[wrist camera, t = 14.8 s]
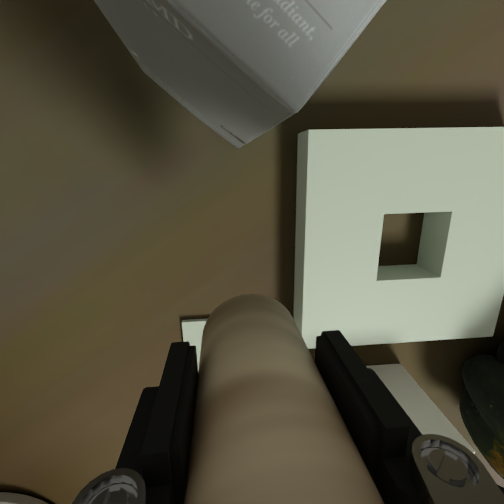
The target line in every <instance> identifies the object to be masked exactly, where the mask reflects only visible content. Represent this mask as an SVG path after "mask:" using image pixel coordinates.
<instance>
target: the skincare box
mask: <svg viewBox="0 0 504 504" xmlns="http://www.w3.org/2000/svg"><path fill="white" fill-rule="evenodd" d="M94 2H95V3H96V4H97V6H98V7H99V9H100V10H101V12H102V13H103V15H104V16H105V17H106V19H107V20H108V22H109V23H110V25H111V26H112V28H113V29H114V31H115V32H116V33H117V35H118V36H119V38H120V39H121V41H122V42H123V43H124V45H125V46H126V48H127V49H128V51H129V52H130V54H131V55H132V57H133V58H134V59H135V61H136V62H137V64H138V65H139V67H140V68H141V70H142V71H143V72H144V73H145V74H146V75H147V76H149V77H150V78H151V79H152V80H153V81H154V82H155V83H157V84H158V85H159V86H160V87H161V88H162V89H164V90H165V91H166V92H167V93H168V94H169V95H171V96H172V97H173V98H174V99H175V100H177V101H178V102H179V103H180V104H181V105H183V106H184V107H185V108H186V109H187V110H189V111H190V112H191V113H192V114H193V115H195V116H196V117H197V118H198V119H200V120H201V121H202V122H203V123H205V124H206V125H207V126H209V127H210V128H211V129H212V130H214V131H215V132H216V133H218V134H219V135H220V136H222V137H223V138H224V139H226V140H227V141H229V142H230V143H231V144H233V145H234V146H235V147H237V148H240V147H242V146H243V145H245V144H247V143H248V142H250V141H252V140H253V139H255V138H257V137H258V136H260V135H262V134H263V133H265V132H267V131H268V130H270V129H272V128H273V127H275V126H277V125H278V124H280V123H281V122H283V121H284V120H286V119H288V118H289V117H291V116H292V115H293V114H295V113H298V111H299V110H300V109H301V108H302V107H303V106H304V105H305V104H306V103H307V101H308V100H309V99H310V98H311V96H312V95H313V94H314V93H315V91H316V90H317V89H318V88H319V86H320V85H321V84H322V82H323V81H324V80H325V79H326V77H327V76H328V75H329V74H330V72H331V71H332V70H333V69H334V67H335V66H336V65H337V63H338V62H339V61H340V60H341V58H342V57H343V56H344V55H345V53H346V52H347V51H348V49H349V48H350V47H351V46H352V44H353V43H354V42H355V40H356V39H357V38H358V37H359V35H360V34H361V33H362V31H363V30H364V29H365V27H366V26H367V25H368V24H369V22H370V21H371V20H372V18H373V17H374V16H375V15H376V13H377V12H378V11H379V9H380V8H381V7H382V6H383V4H384V3H385V2H386V0H94Z"/></svg>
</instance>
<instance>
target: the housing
mask: <svg viewBox="0 0 504 504" xmlns="http://www.w3.org/2000/svg"><path fill="white" fill-rule="evenodd" d="M366 367H367V368H371V369H373V370H374V371H375V372H376V374H377V375H378V376H379V378H380V379H381V380H382V382H383V383H384V384H385V386H386V387H387V388H388V390H389V391H390V392H391V394H392V395H393V396H394V398H395V399H396V400H397V402H398V403H399V404H400V405H401V407H402V408H403V409H404V411H405V412H406V413H407V415H408V416H409V417H410V419H411V420H412V421H413V423H414V424H415V425H416V427H417V428H418V429H419V431H420V432H421V433H422V435H424V434H436V435H442V436H445V437H448V438H450V439H453V440H455V441H457V442H458V443H460V444H462V445H464V446H465V447H466V448H468V449H469V450H470V451H471V452H472V453H474V454H475V451H474V450H473V448H472V447H471V446H470V445H469V444H468V443H467V441H466V440H465V439H464V438H463V437H462V435H461V434H460V433H459V432H458V431H457V430H456V428H455V427H454V426H453V425H452V424H451V423H450V421H449V420H448V419H447V418H446V417H445V415H444V414H443V413H442V412H441V411H440V410H439V408H438V407H437V406H436V405H435V404H434V403H433V401H432V400H431V399H430V398H429V397H428V395H427V394H426V393H425V392H424V391H423V390H422V388H421V387H420V386H419V385H418V384H417V383H416V381H415V380H414V379H413V378H412V377H411V376H410V374H409V373H408V372H407V371H406V370H405V368H404V367H403V366H402V365H401V364H386V365H372V366H366Z"/></svg>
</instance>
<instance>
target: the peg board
mask: <svg viewBox="0 0 504 504" xmlns="http://www.w3.org/2000/svg"><path fill="white" fill-rule="evenodd" d="M397 213H424V218H423V225H422V231H421V238H420V245H419V251H418V258H417V264H411V265H390V266H378V262H379V253H380V244H381V235H382V226H383V217H384V214H397ZM503 295H504V127H457V128H387V129H317V130H306V131H304V132H301V133H298V148H297V190H296V232H295V275H294V317H293V319H294V321H295V323H296V325H297V327H298V329H299V331H300V333H301V335H302V337H303V340H304V342H305V344H306V346H307V348H308V349H313V348H316V337H317V336H321V333H322V332H323V331H333V330H339V331H340V332H341V333H342V334H343V336H344V337H345V338H346V340H347V341H348V342H349V344H350V345H351V346H358V345H372V344H387V343H402V342H417V341H432V340H447V339H462V338H477V337H492V336H493V335H494V331H495V327H496V323H497V319H498V315H499V311H500V307H501V303H502V299H503Z"/></svg>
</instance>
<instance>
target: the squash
mask: <svg viewBox="0 0 504 504" xmlns="http://www.w3.org/2000/svg"><path fill="white" fill-rule="evenodd" d="M462 377H463V380H464V383H465V386H466V388H465V389H464V391H463V393H462V395H461V398H460V412H461V416H462V419H463V422H464V424H465V427H466V428H467V430H468V432H469V434H470V436H471V438H472V440H473V442H474V443H475V445H476V446H477V447H478V449H479V451H480V452H481V454H482V455H483V456H484V458H485V459H486V460H487V462H488V463H489V464H490V465H491V467H492V468H493V469H494V470H495V471H496V472H497V473H498V474H499V475H500V476H501V477H502V478H503V479H504V342H502V343H501V345H500V346H499V347H498V350H497V357H494V356H491V355H477V356H474V357H472V358H470V359H469V360H468V361H466V362H465V364H464V365H463V367H462Z"/></svg>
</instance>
